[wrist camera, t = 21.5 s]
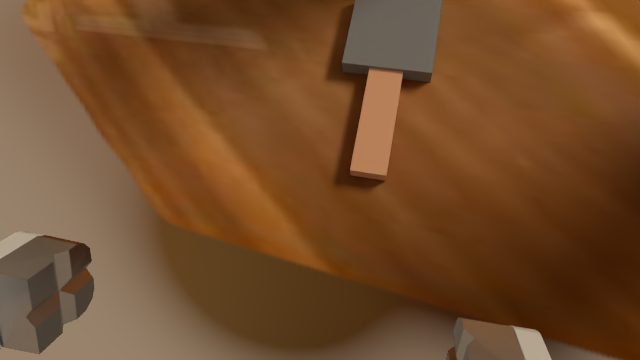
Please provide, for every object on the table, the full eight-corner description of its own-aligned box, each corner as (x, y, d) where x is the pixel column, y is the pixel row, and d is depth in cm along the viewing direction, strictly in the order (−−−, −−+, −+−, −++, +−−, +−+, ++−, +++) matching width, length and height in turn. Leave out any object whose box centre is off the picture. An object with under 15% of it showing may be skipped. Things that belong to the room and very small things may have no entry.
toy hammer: (415, 185, 37) (417, 178, 36) (321, 171, 38) (319, 164, 37) (439, 11, 43) (442, 0, 42) (357, 3, 44) (357, -8, 43)
